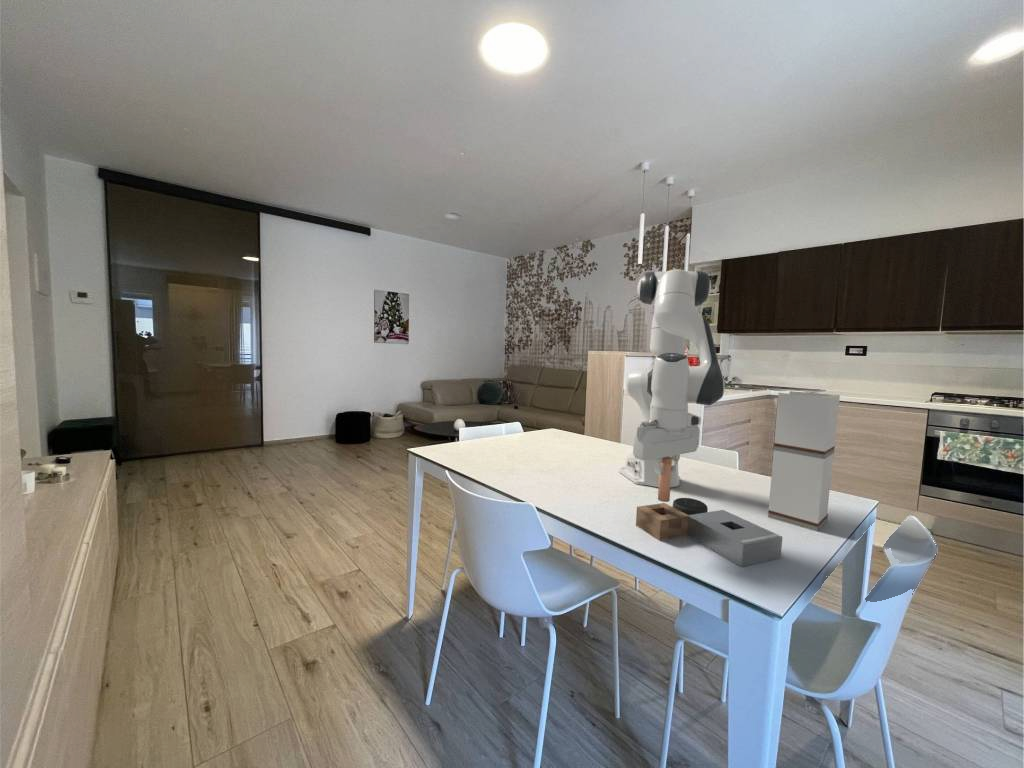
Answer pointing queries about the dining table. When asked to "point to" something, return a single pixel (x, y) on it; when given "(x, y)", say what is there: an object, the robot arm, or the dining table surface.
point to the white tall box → (803, 458)
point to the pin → (665, 480)
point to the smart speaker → (690, 506)
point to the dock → (734, 537)
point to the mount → (662, 521)
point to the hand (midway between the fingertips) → (665, 472)
